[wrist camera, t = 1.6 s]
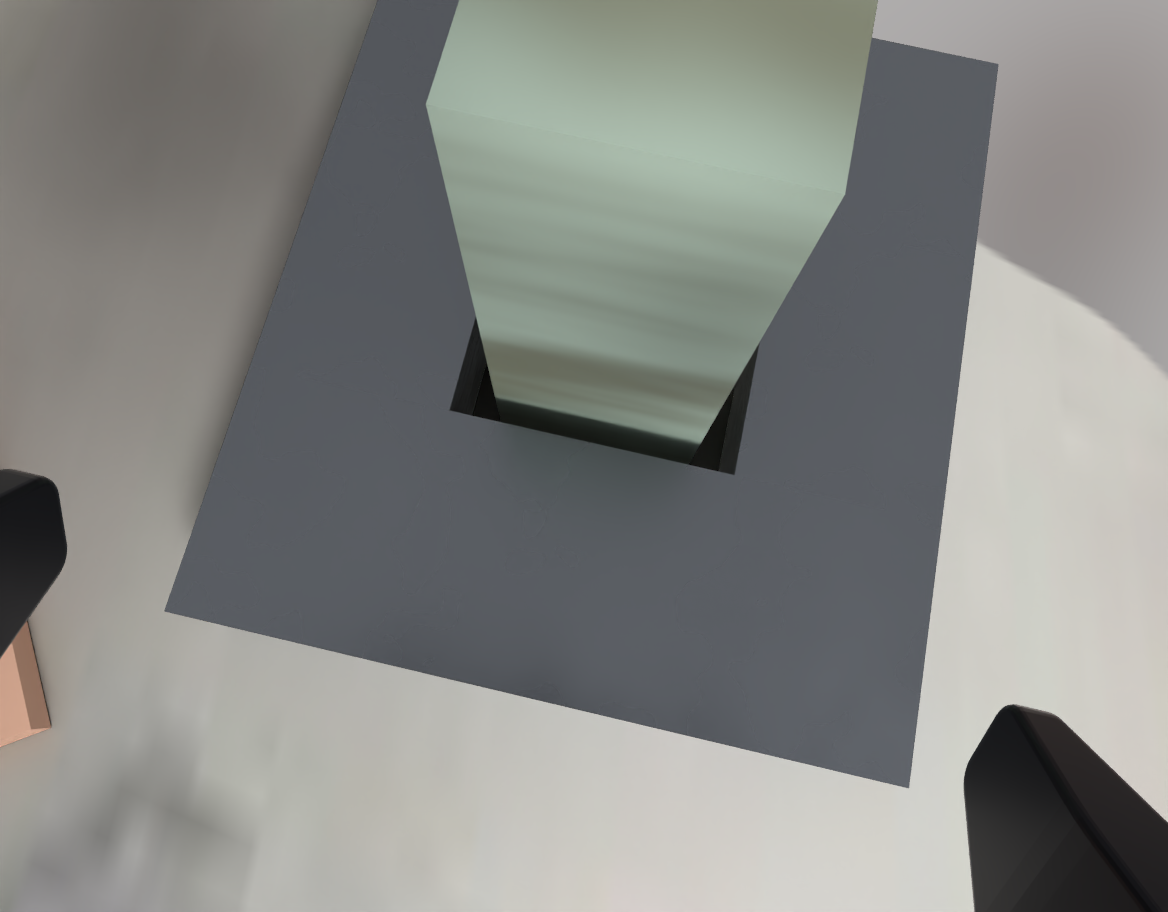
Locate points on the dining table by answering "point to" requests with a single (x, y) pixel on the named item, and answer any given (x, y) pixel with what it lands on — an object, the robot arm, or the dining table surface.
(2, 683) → the terracotta pad
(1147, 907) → the robot arm
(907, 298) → the socket plate
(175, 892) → the dining table surface
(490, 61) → the square plug
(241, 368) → the dining table surface
